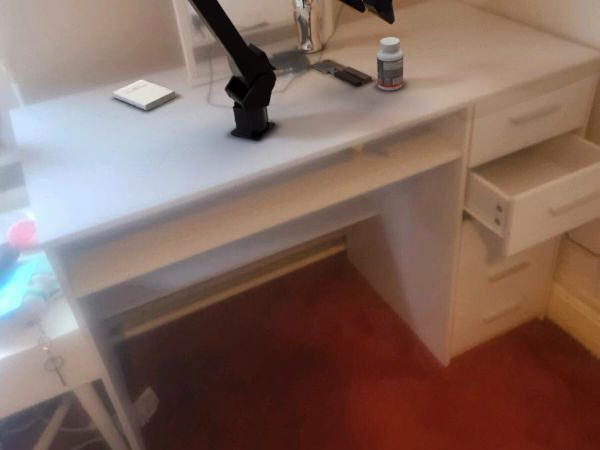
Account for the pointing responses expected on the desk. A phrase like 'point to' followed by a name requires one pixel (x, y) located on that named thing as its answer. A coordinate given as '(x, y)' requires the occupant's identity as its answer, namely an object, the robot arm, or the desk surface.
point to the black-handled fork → (337, 74)
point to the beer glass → (307, 24)
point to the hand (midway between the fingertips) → (378, 16)
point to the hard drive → (144, 94)
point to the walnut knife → (349, 71)
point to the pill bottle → (390, 64)
